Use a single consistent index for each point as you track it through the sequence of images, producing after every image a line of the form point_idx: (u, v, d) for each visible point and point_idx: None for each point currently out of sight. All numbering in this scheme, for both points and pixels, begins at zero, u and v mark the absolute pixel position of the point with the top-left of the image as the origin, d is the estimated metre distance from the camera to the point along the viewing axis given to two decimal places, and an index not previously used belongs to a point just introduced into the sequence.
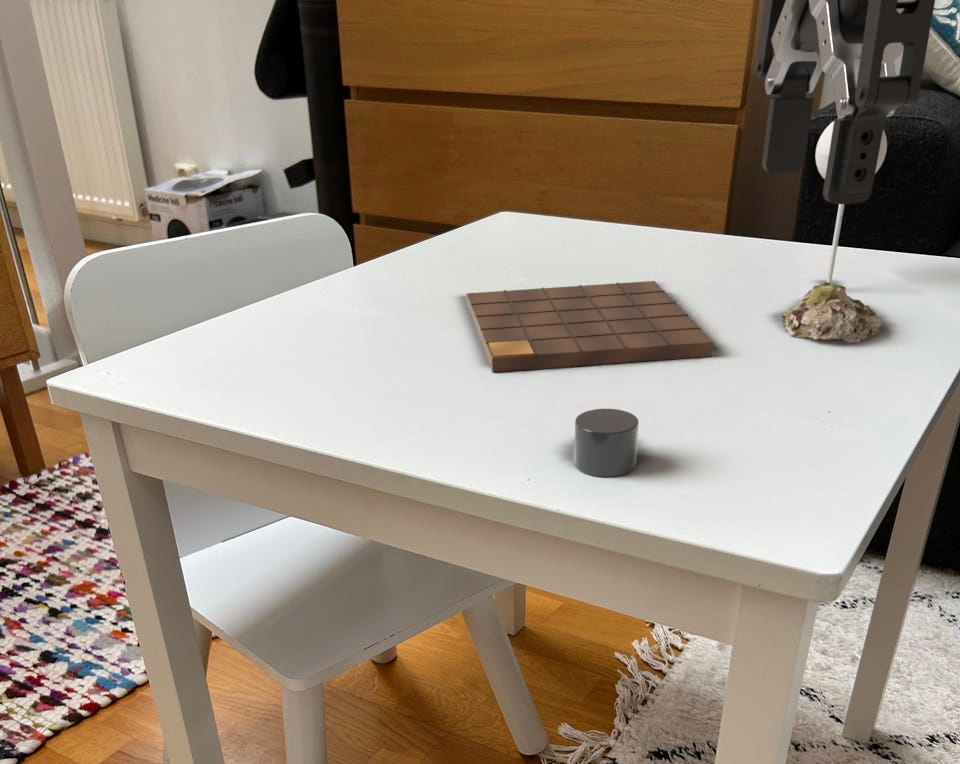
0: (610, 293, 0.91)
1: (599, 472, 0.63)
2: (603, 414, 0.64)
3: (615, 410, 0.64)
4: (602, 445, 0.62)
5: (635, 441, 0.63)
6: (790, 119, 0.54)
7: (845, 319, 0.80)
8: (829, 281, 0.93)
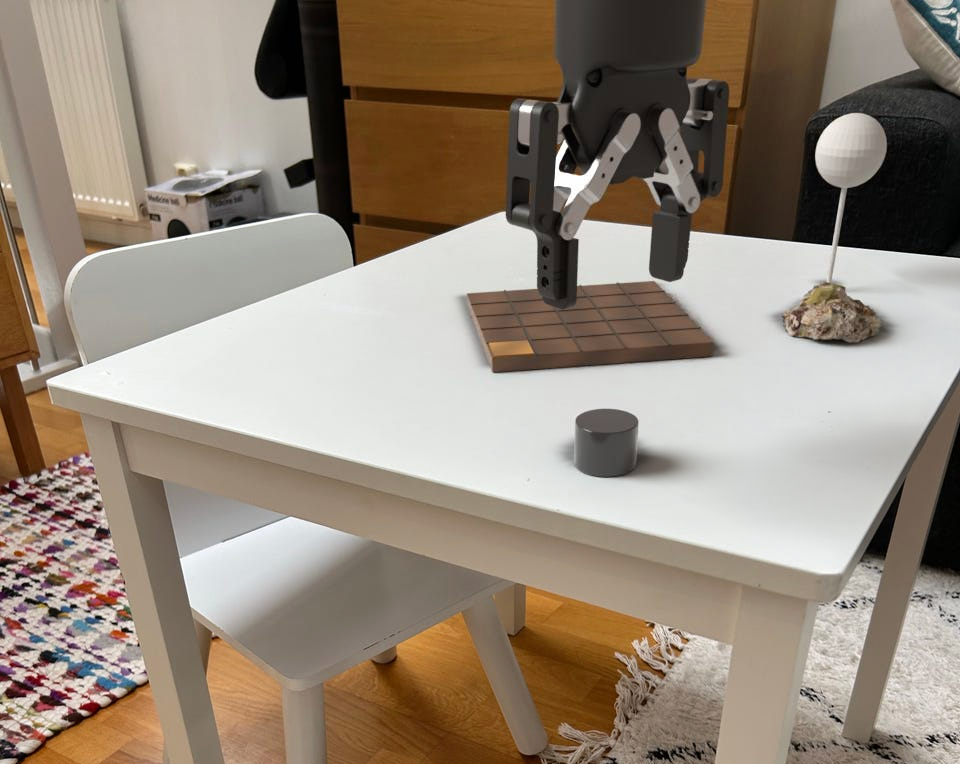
0: (610, 293, 0.91)
1: (599, 472, 0.63)
2: (603, 414, 0.64)
3: (615, 410, 0.64)
4: (602, 445, 0.62)
5: (635, 441, 0.63)
6: (664, 232, 0.58)
7: (844, 319, 0.80)
8: (829, 281, 0.93)
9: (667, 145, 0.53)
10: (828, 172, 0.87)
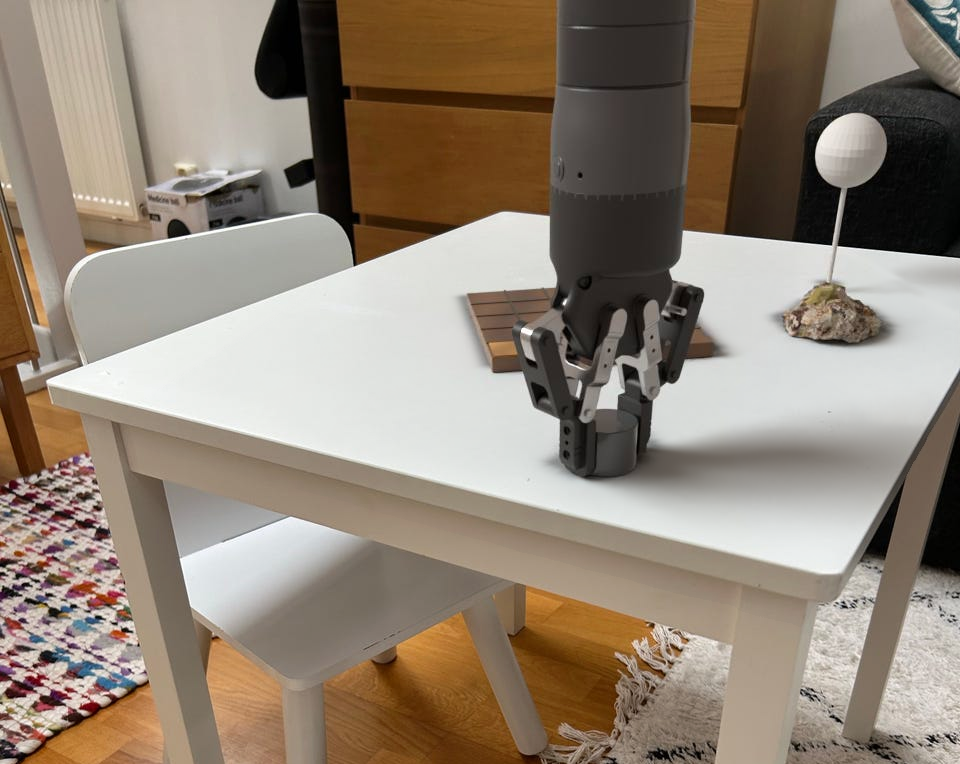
0: None
1: (599, 472, 0.63)
2: (603, 414, 0.64)
3: (615, 410, 0.64)
4: (602, 445, 0.62)
5: (635, 441, 0.63)
6: None
7: (845, 319, 0.80)
8: (829, 281, 0.93)
9: (646, 331, 0.59)
10: (828, 172, 0.87)
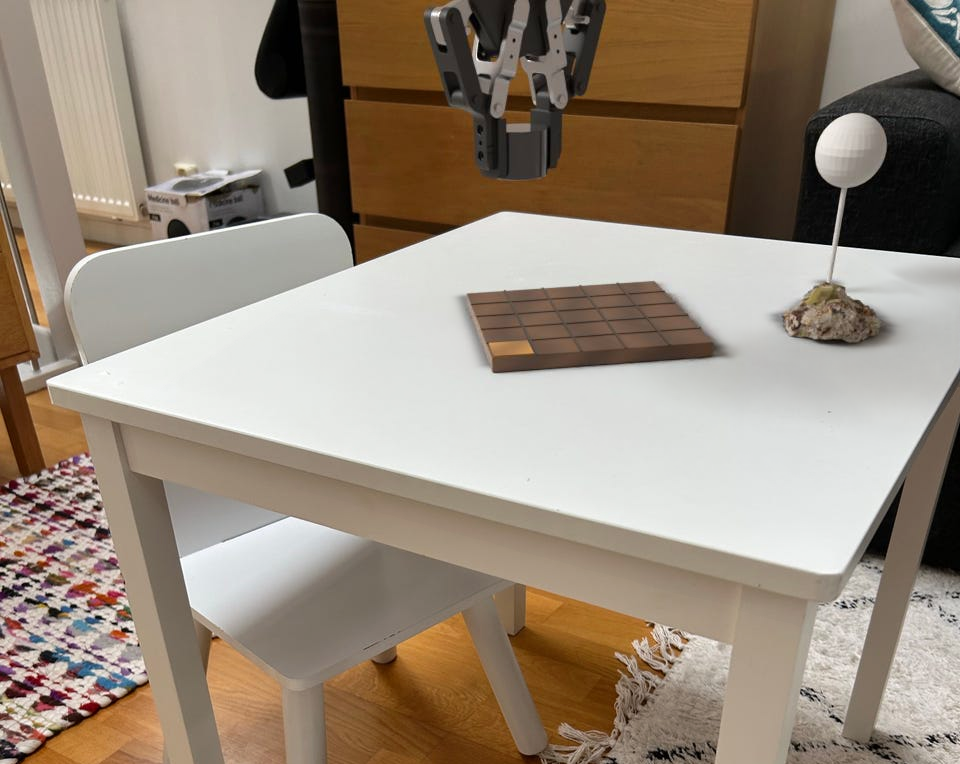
0: (610, 293, 0.91)
1: (511, 175, 0.68)
2: (516, 125, 0.69)
3: None
4: (513, 146, 0.67)
5: (544, 146, 0.68)
6: None
7: (844, 319, 0.80)
8: (829, 281, 0.93)
9: (549, 28, 0.64)
10: (828, 172, 0.87)
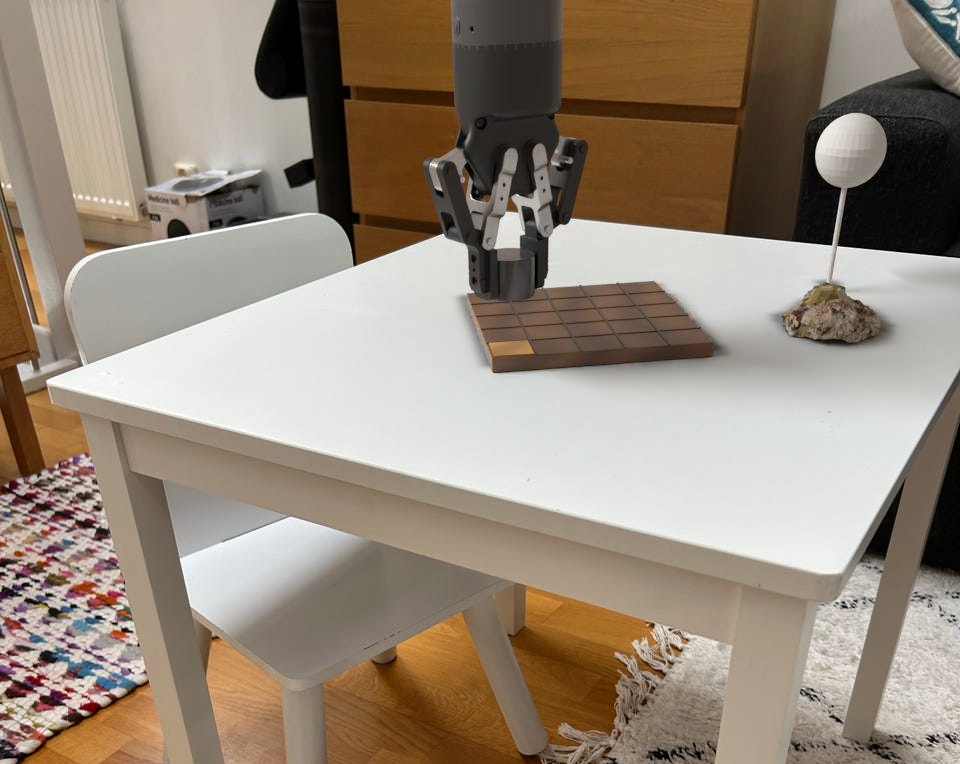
0: (610, 293, 0.91)
1: (502, 297, 0.75)
2: (507, 251, 0.76)
3: (517, 248, 0.77)
4: (503, 272, 0.74)
5: (532, 271, 0.75)
6: None
7: (844, 319, 0.80)
8: (829, 281, 0.93)
9: (536, 172, 0.72)
10: (828, 172, 0.87)
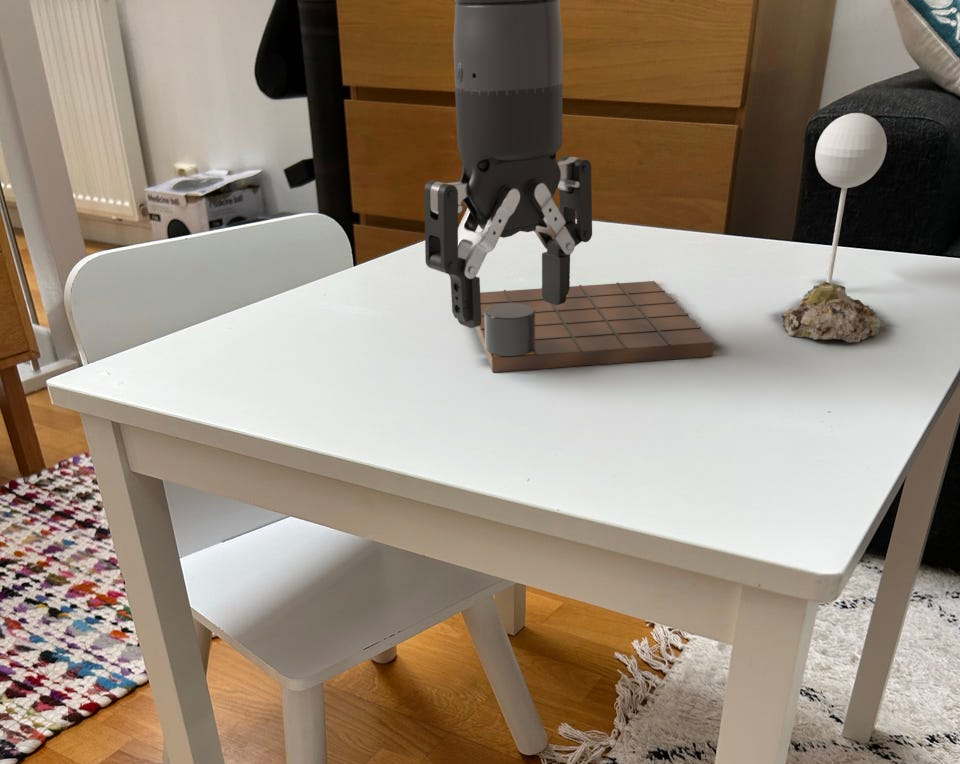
0: (610, 293, 0.91)
1: (503, 352, 0.78)
2: (508, 306, 0.79)
3: (518, 304, 0.79)
4: (505, 329, 0.77)
5: (532, 327, 0.78)
6: (550, 268, 0.79)
7: (844, 319, 0.80)
8: (829, 281, 0.93)
9: (543, 208, 0.73)
10: (828, 172, 0.87)
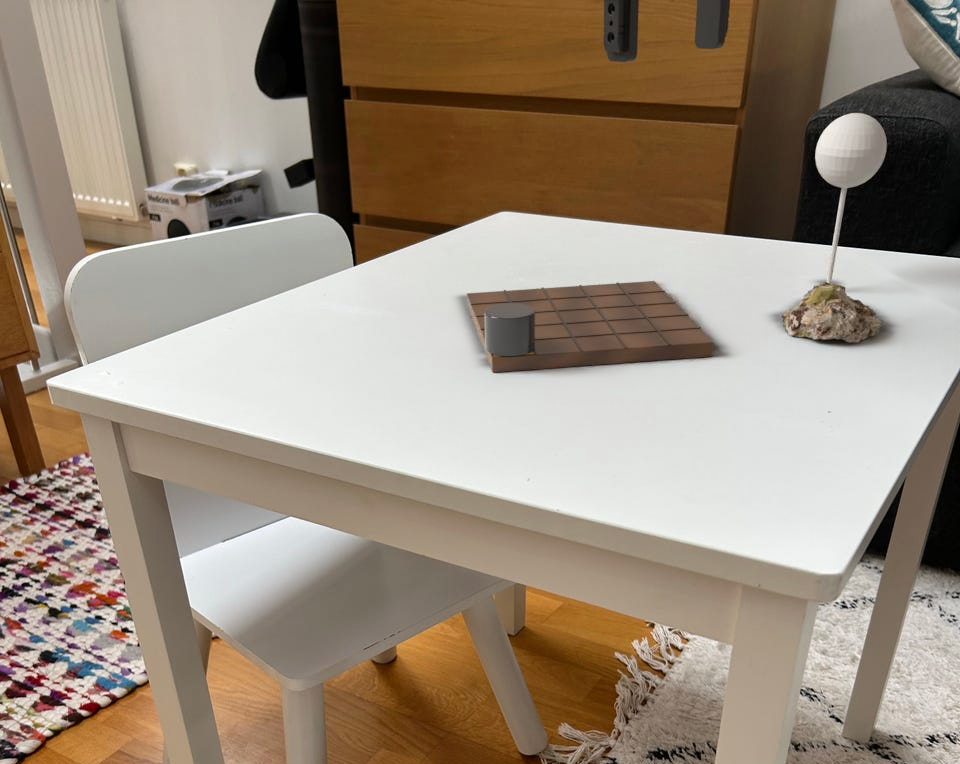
0: (610, 293, 0.91)
1: (503, 352, 0.78)
2: (508, 306, 0.79)
3: (518, 304, 0.79)
4: (505, 329, 0.77)
5: (532, 327, 0.78)
6: (708, 3, 0.69)
7: (844, 319, 0.80)
8: (829, 281, 0.93)
9: None
10: (828, 172, 0.87)
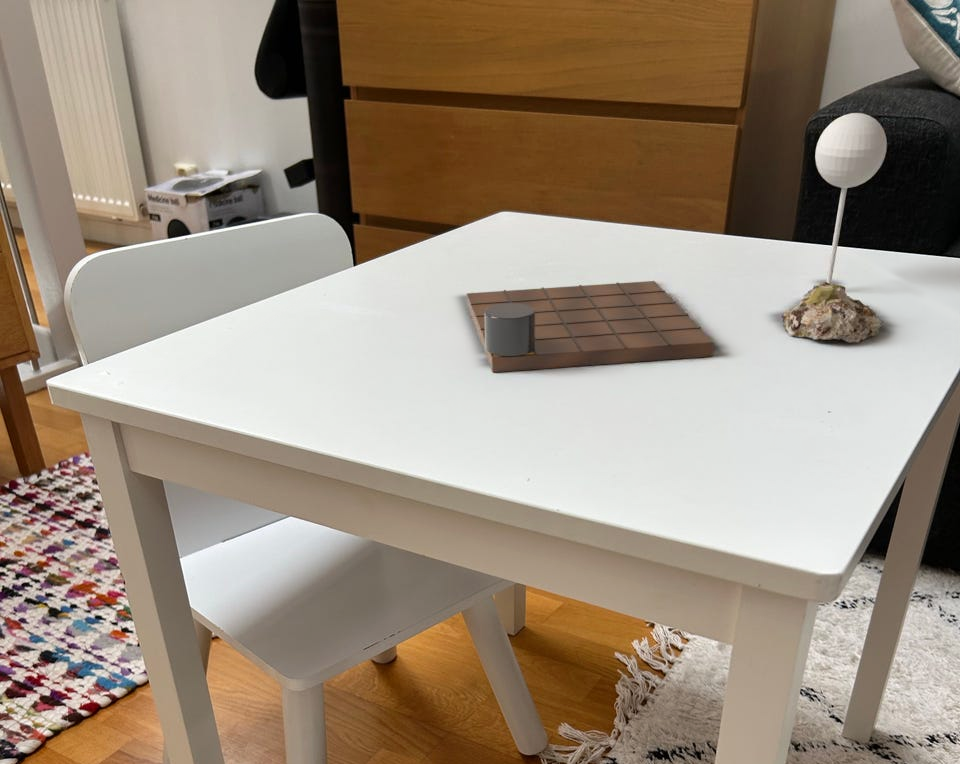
0: (610, 293, 0.91)
1: (503, 352, 0.78)
2: (508, 306, 0.79)
3: (518, 304, 0.79)
4: (505, 329, 0.77)
5: (532, 327, 0.78)
6: None
7: (844, 319, 0.80)
8: (829, 281, 0.93)
9: None
10: (828, 172, 0.87)
